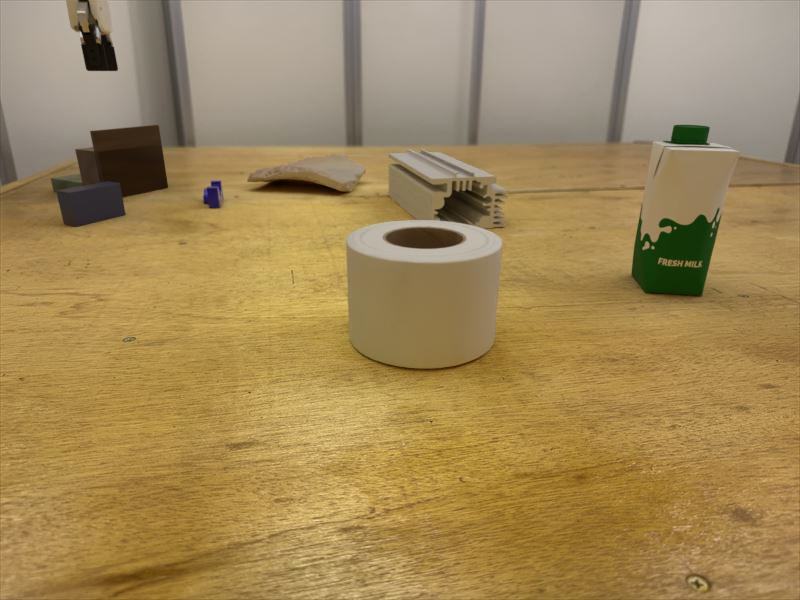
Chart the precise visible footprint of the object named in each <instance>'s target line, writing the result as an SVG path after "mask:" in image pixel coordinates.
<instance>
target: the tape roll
mask: <svg viewBox="0 0 800 600" xmlns="http://www.w3.org/2000/svg"><path fill="white" fill-rule="evenodd" d="M345 249H346V253H345V254H346V277H347V278H346V281H347V282H346V283H347V308H348V309H347V311H348V315H347V316H348V337H349V341H350V343H351V345H352V346H353V348H355V349H356V351H358V352H359V353H360V354H362V355H363V356H365V357H367V358H369V359H371V360H374V361H377V362H379V363H382V364H385V365H390V366H395V367H402V368H408V369H423V370H424V369H442V368H449V367H455V366H459V365H463V364H466V363H468V362H472V361H474V360H476V359H479V358H480V357H482V356H484V355H485V354H487V353H488V351H490V349H491V348H492V347H493V346H494V344H495V340H496V326H497V317H498V316H497V315H498V314H497V313H498V302H499V291H500V290H499V289H500V279H501V278H500V275H501V267H502V265H501V264H502V255H503V240H502V238H501V237H500V236H499V235H497V234H496V233H494V231H493V232H492V231H491V230H489V229H487V228H486V229H483V228H480V227H476V226H472V225H467V224H462V223H456V222H447V221H434V220H416V219H408V220H407V219H406V220H390V221H384V222H378V223H374V224H369V225H366V226H363V227H360V228H357V229H355V230H353V231H352V232H350V233H349V234H348V235H347V237H346V239H345Z"/></svg>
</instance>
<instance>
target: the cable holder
mask: <svg viewBox="0 0 800 600" xmlns="http://www.w3.org/2000/svg"><path fill="white" fill-rule="evenodd" d="M222 181H223V180H220V179H219V180H211V181H210V186H207V187H205V188H204V189H203V196H202V199H203V205H208V208H209V209H220V208H221V206H222V203H223V201H224V191H223V182H222Z"/></svg>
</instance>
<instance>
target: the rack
mask: <svg viewBox="0 0 800 600" xmlns="http://www.w3.org/2000/svg"><path fill="white" fill-rule="evenodd" d="M89 134H90V138H91V139H90V140H91V143H92V146H91V147H90V146H89V147H81V148H75V149H74V151H75V156H76V160H77V164H78V165H77V166H78V170H79V173H75V174H69V175H62V176H56V177H51V178H50V182H51V187H52V191H53V192H54V193H57V192H56V191H57V190H62V189H68V188H73V187H79V186H85V185H90V184H96V183H101V182H107V181H108V182H115V183H120V187H121V192H122V197H123V198H126V197H130V196H135V195H140V194H145V193H149V192H150V193H151V192H154V191H159V190H164V189H168V188H169V182H168V177H167V176H168V175H167V171H166V170H167V169H166V163H165V156H164V151H163V144H162V137H161V131H160V125H159V124H149V125H139V126H128V127H117V128H105V129H95V130H90V131H89Z"/></svg>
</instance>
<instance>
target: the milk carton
mask: <svg viewBox="0 0 800 600" xmlns="http://www.w3.org/2000/svg"><path fill="white" fill-rule="evenodd" d="M710 129H711V127H710V126H707V125H698V124H674V125H673V127H672V133H671V136H670V140H662V141H660V140H659V141H657V140H654V141H652V143H651V151H650V156H649V163H648V169H647V175H646V179H645V185H644V190H643V196H642V201H641V206H640V212H639V217H638V223H637V227H636V228H637V229H636V234H635V240H634V245H633V247H634V248H633V254H632V263H631V264H632V265H631V273H630V274H631V276H632V277H633V278H634V279H635V281H636V282H637V283H638V285H639V286H640V287H641V289H642V291H643V292H644V293H648V294H649V293H650V294H663V295H664V294H665V295H666V294H667V295H668V294H669V295H681V296H683V295H684V296H700V297H702V296H703V293H704V289H705V284H706V281H707V276H708V273H709V269H710V264H711V260H712V257H713V251H714V247H715V243H716V239H717V236H718V231H719V228H720V224H721V220H722V219H721V218H722V216H723V211H724V206H725V202H726V198H727V194H728V190H729V186H730V183H731V180H732V177H733V174H734V171H735V169H736V166H737V162H738V159H739V157H740V155H741V151H740V150H736V149H734V148H733V147H732V146H728V145H723V144H719V143H716V142H708V140H709V139H708V138H709V134H710Z"/></svg>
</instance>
